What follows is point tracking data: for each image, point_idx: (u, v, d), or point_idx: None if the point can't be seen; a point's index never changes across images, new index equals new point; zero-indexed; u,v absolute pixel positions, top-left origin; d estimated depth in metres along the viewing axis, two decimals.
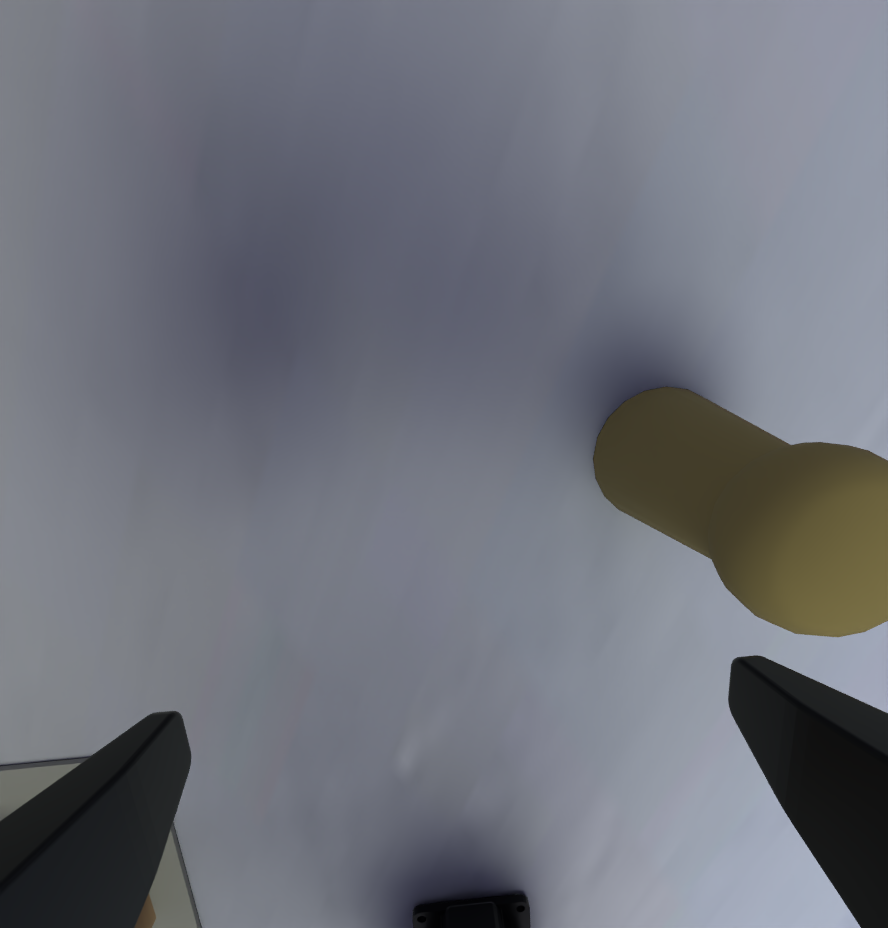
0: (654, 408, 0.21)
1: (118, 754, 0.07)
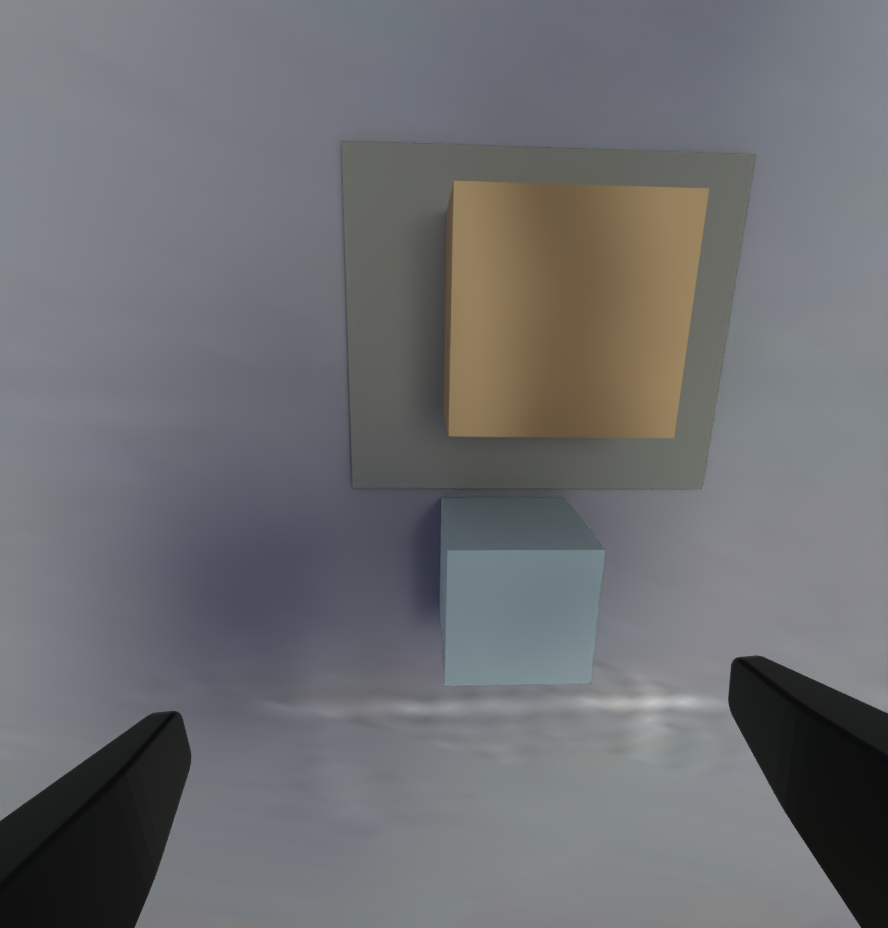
0: None
1: (118, 754, 0.07)
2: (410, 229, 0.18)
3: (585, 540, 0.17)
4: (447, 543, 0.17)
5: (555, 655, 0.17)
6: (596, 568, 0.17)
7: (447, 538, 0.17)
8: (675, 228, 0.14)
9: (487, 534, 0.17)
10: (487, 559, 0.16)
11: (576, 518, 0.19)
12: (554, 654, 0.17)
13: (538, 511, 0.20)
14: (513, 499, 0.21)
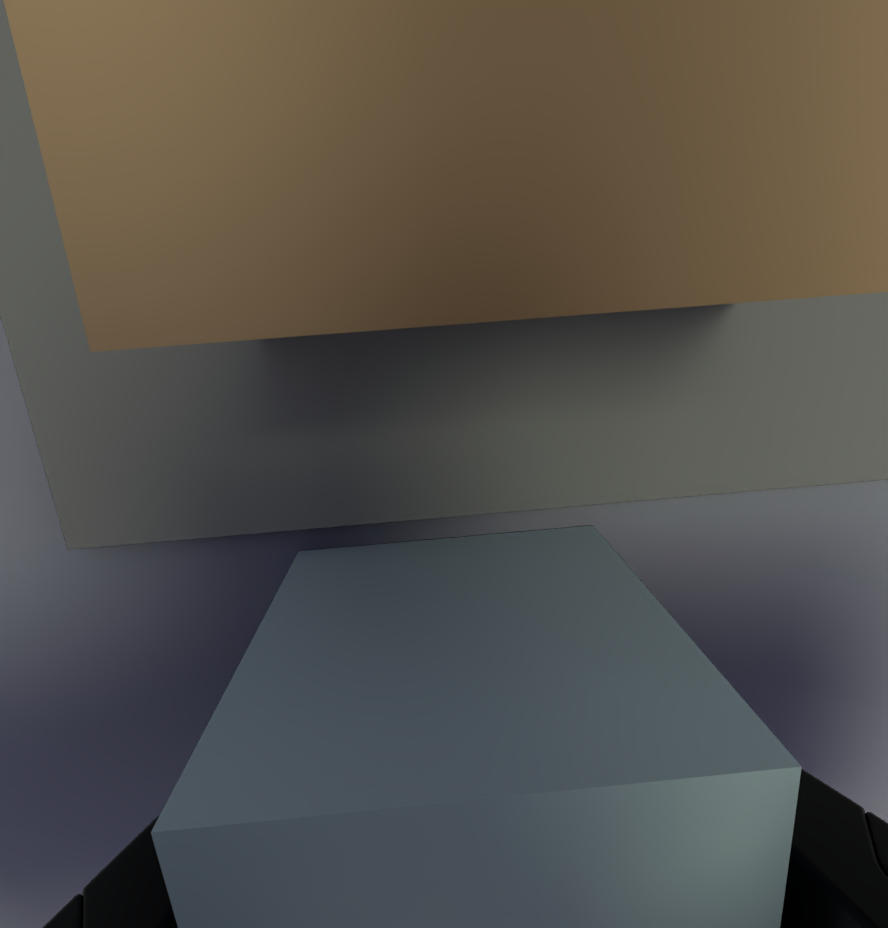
0: None
1: None
2: None
3: (701, 701, 0.05)
4: (183, 776, 0.04)
5: None
6: (766, 835, 0.04)
7: (204, 738, 0.05)
8: None
9: (356, 700, 0.05)
10: (322, 845, 0.04)
11: (640, 595, 0.07)
12: None
13: (530, 576, 0.07)
14: (471, 543, 0.08)
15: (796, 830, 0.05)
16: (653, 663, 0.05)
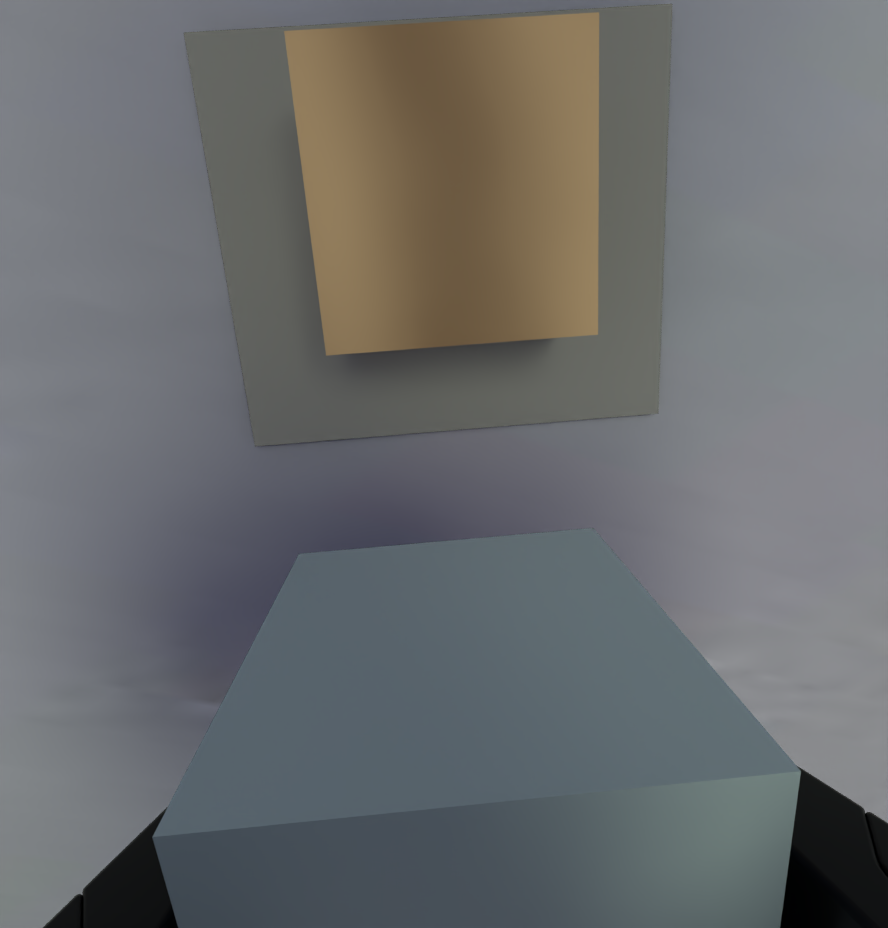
0: None
1: None
2: (278, 132, 0.15)
3: (700, 706, 0.05)
4: (183, 781, 0.04)
5: None
6: (765, 839, 0.04)
7: (206, 742, 0.05)
8: (564, 68, 0.12)
9: (358, 703, 0.05)
10: (324, 850, 0.04)
11: (640, 598, 0.07)
12: None
13: (531, 580, 0.07)
14: (471, 546, 0.08)
15: (796, 830, 0.05)
16: (653, 667, 0.05)
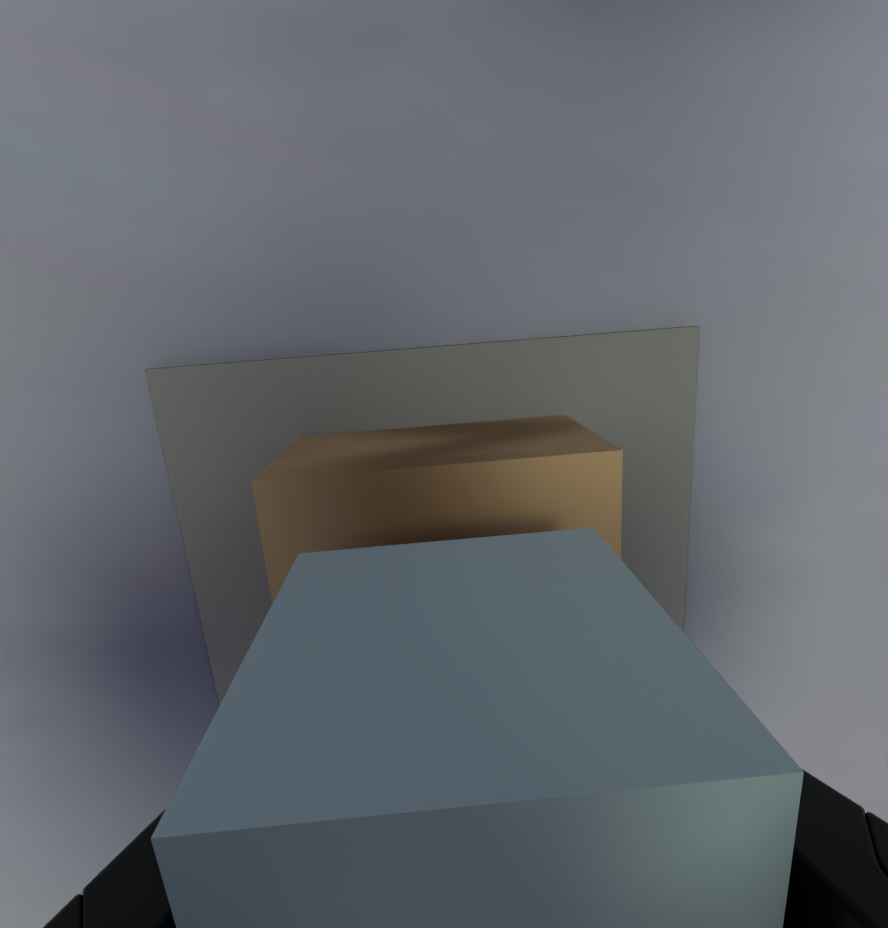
0: None
1: None
2: (254, 464, 0.14)
3: (703, 706, 0.05)
4: (182, 781, 0.04)
5: None
6: (768, 840, 0.04)
7: (204, 743, 0.05)
8: (581, 505, 0.10)
9: (358, 704, 0.05)
10: (324, 852, 0.04)
11: (641, 598, 0.07)
12: None
13: (531, 580, 0.07)
14: (471, 546, 0.08)
15: None
16: (654, 667, 0.05)
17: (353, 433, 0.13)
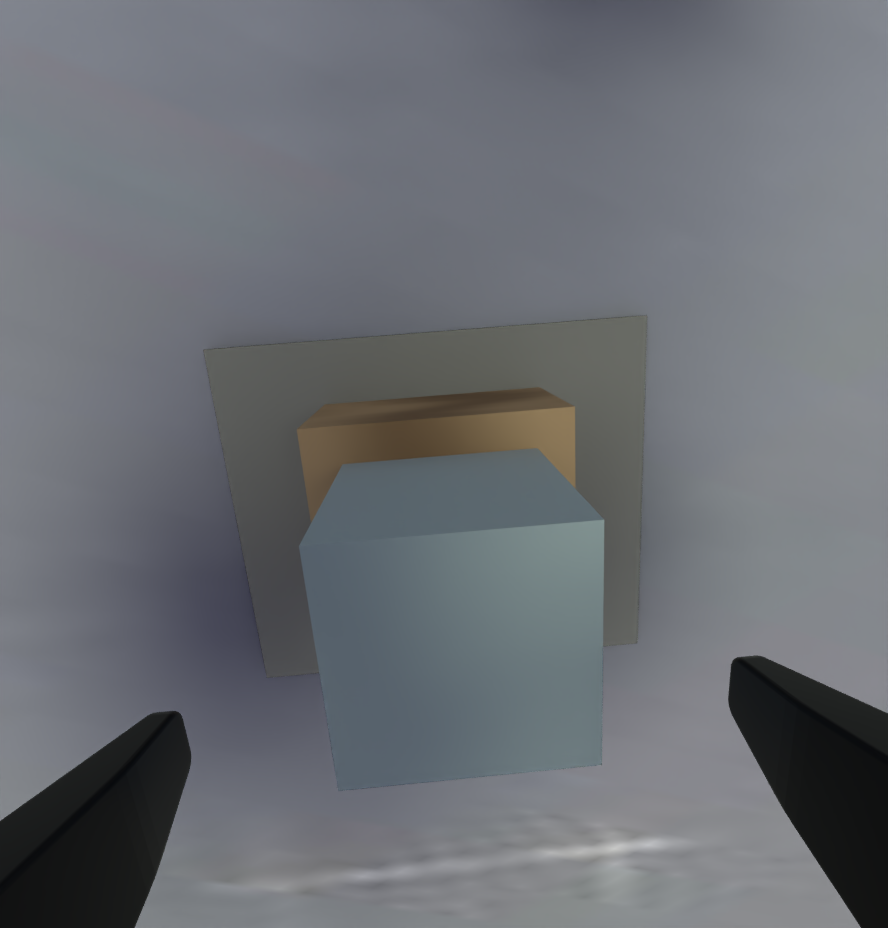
0: None
1: (118, 754, 0.07)
2: (289, 426, 0.17)
3: (568, 505, 0.09)
4: (306, 534, 0.09)
5: (532, 721, 0.10)
6: (590, 556, 0.09)
7: (312, 524, 0.09)
8: (544, 449, 0.13)
9: (390, 511, 0.10)
10: (378, 556, 0.09)
11: (554, 474, 0.11)
12: (530, 720, 0.10)
13: (491, 469, 0.12)
14: (456, 457, 0.13)
15: None
16: (550, 495, 0.10)
17: (369, 401, 0.17)
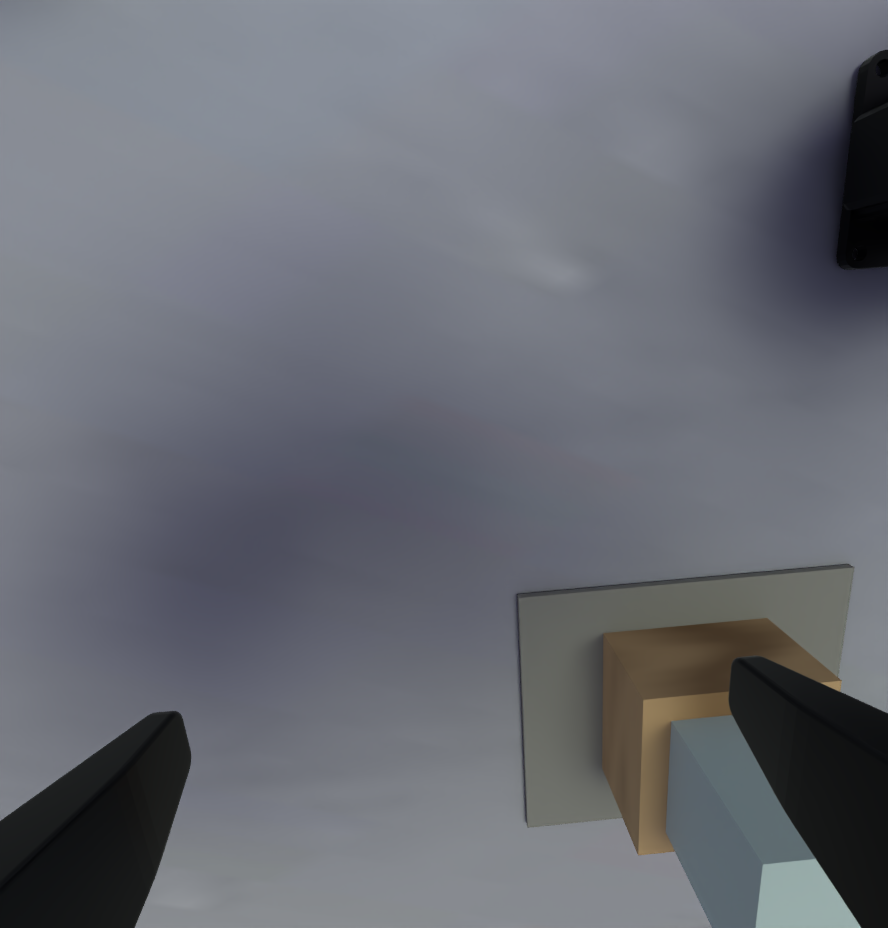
0: None
1: (118, 754, 0.07)
2: (574, 649, 0.22)
3: None
4: (751, 845, 0.14)
5: None
6: None
7: (742, 831, 0.14)
8: None
9: (783, 815, 0.15)
10: (809, 868, 0.13)
11: None
12: None
13: None
14: None
15: None
16: None
17: (638, 632, 0.22)
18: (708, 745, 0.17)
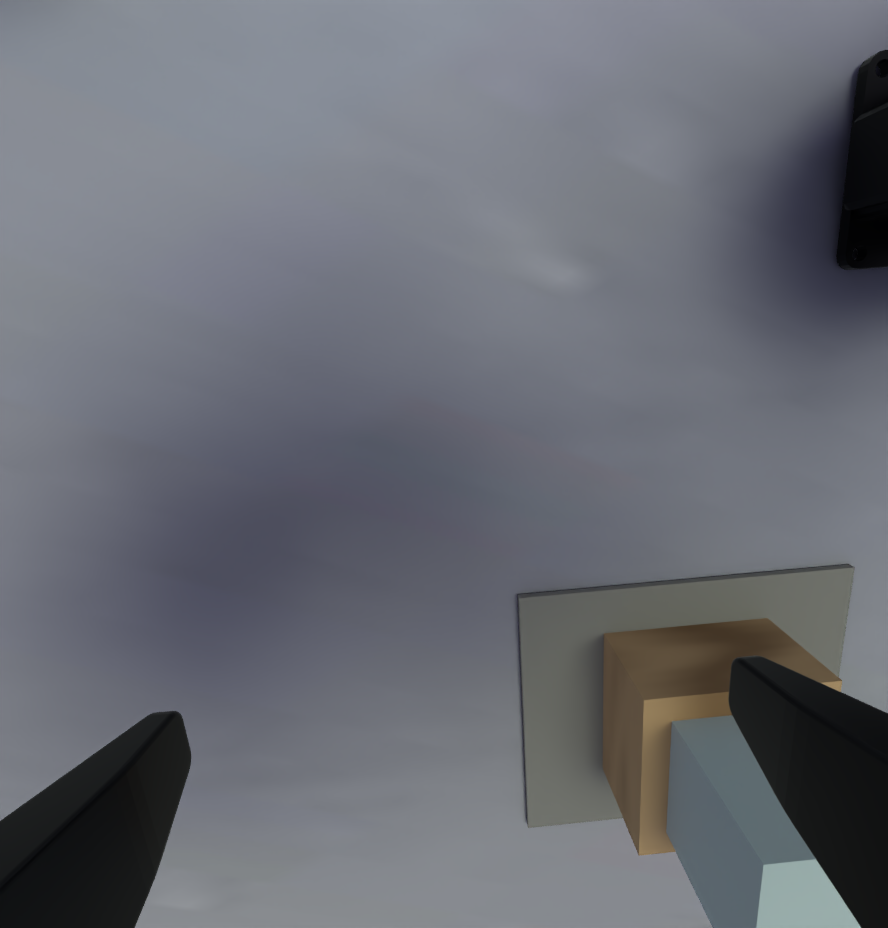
0: None
1: (118, 754, 0.07)
2: (574, 649, 0.22)
3: None
4: (752, 846, 0.14)
5: None
6: None
7: (743, 831, 0.14)
8: None
9: (784, 815, 0.15)
10: (810, 868, 0.13)
11: None
12: None
13: None
14: None
15: None
16: None
17: (639, 632, 0.22)
18: (709, 745, 0.17)
